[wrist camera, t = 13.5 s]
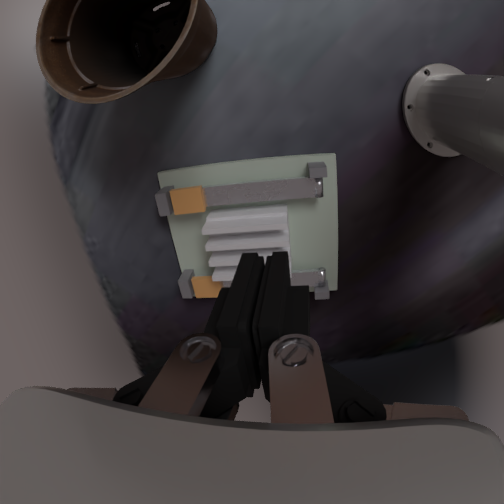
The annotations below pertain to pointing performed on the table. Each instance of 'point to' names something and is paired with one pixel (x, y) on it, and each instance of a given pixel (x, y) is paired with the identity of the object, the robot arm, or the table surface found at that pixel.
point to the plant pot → (120, 44)
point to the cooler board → (255, 220)
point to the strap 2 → (210, 288)
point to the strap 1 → (244, 193)
